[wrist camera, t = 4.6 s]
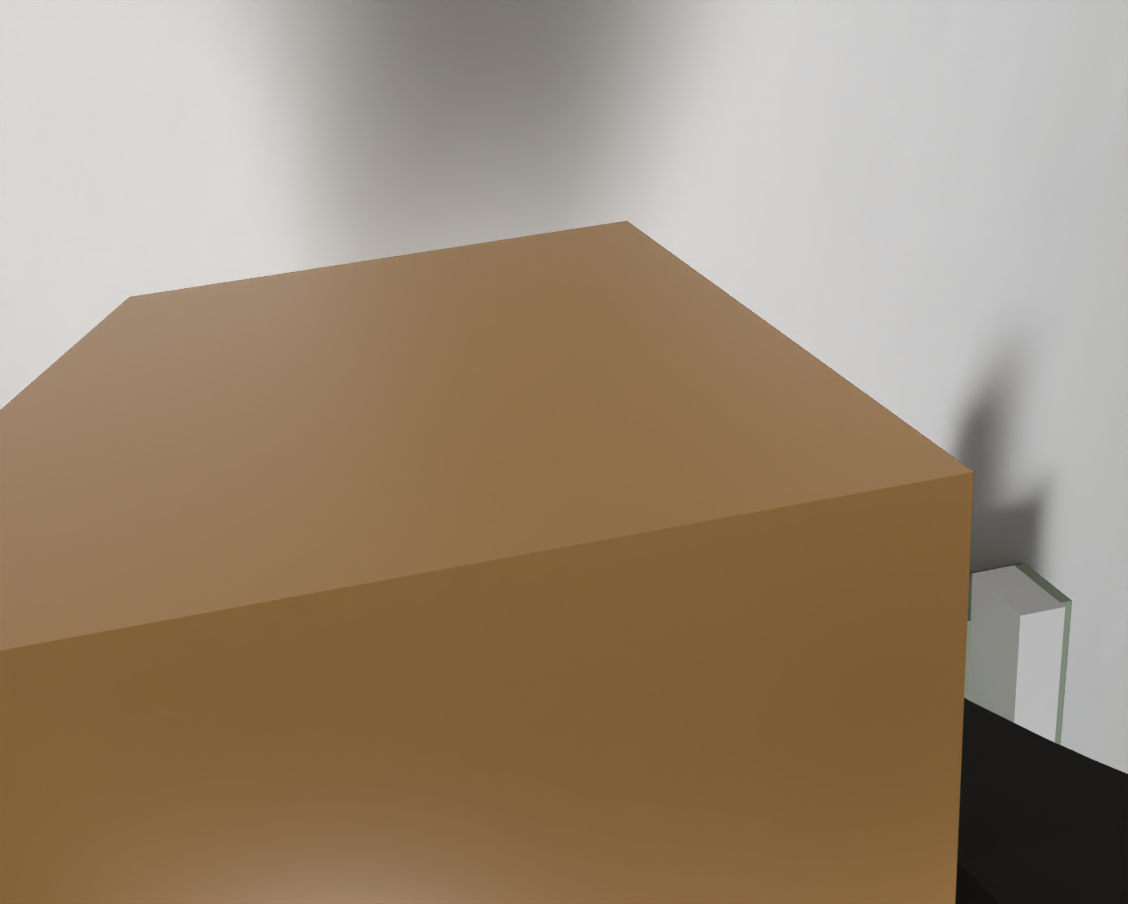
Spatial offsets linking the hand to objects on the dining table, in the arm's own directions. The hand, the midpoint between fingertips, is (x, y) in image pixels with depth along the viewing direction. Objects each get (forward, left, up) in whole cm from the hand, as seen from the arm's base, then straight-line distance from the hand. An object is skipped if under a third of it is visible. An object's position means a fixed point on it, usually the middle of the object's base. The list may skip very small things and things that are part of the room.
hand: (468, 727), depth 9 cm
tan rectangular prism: (0, 0, -2) cm, 2 cm away
